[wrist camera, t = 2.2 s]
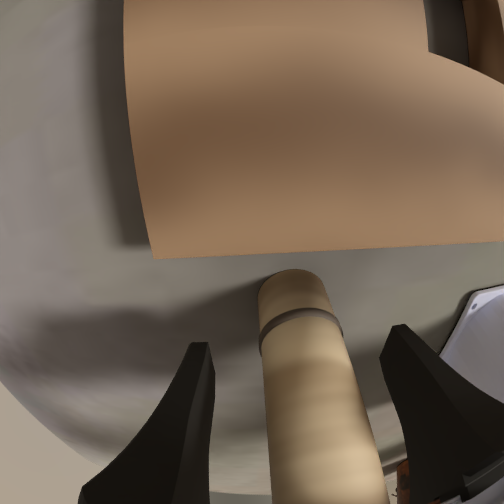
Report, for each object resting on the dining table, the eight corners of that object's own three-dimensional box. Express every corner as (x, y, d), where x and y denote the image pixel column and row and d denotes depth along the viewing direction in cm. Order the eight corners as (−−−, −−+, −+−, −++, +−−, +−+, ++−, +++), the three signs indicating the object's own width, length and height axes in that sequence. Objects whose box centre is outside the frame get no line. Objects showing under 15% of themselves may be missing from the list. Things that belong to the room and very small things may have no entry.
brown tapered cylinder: (422, 444, 32) (445, 525, 17) (474, 427, 36) (496, 488, 21) (363, 477, 41) (375, 544, 26) (422, 462, 45) (436, 516, 29)
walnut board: (504, 218, 11) (531, 239, 9) (169, 225, 11) (154, 259, 9) (509, -3, 4) (538, -4, 2) (155, -79, 4) (138, -106, 2)
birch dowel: (322, 319, 14) (370, 512, 5) (256, 324, 14) (270, 529, 5) (330, 265, 12) (413, 495, 4) (254, 269, 12) (272, 527, 4)
